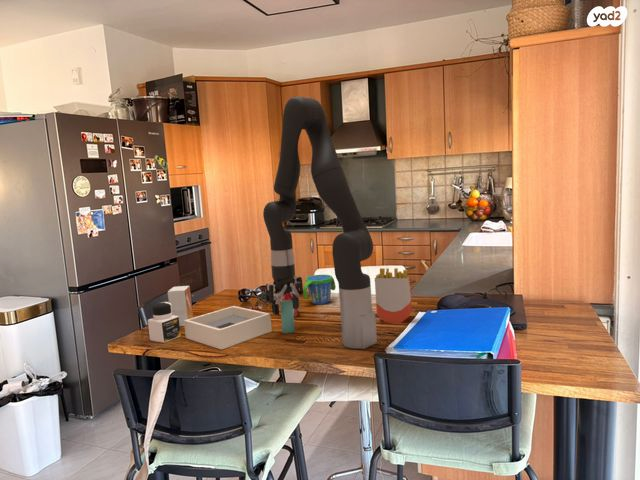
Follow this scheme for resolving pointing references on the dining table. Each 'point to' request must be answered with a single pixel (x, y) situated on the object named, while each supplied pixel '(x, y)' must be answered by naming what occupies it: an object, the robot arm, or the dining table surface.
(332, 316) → the dining table surface
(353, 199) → the robot arm
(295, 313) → the soda can
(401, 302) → the french fries container
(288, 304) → the peg
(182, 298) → the small box
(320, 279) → the snack cup
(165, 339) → the medicine bottle
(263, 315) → the crate
